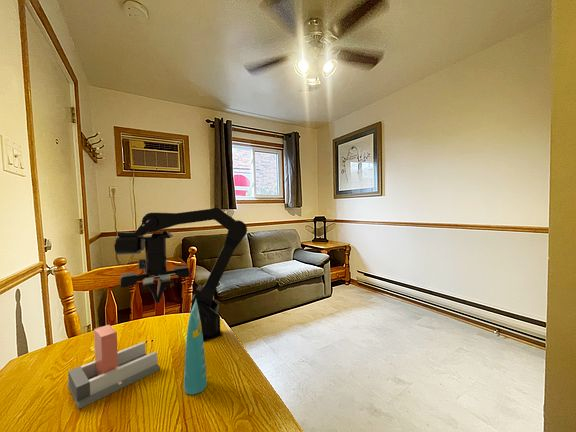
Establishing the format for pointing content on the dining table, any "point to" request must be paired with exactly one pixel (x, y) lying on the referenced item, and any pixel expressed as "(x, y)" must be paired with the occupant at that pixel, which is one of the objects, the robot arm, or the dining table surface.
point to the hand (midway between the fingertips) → (157, 302)
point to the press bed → (111, 375)
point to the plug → (105, 349)
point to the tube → (194, 355)
